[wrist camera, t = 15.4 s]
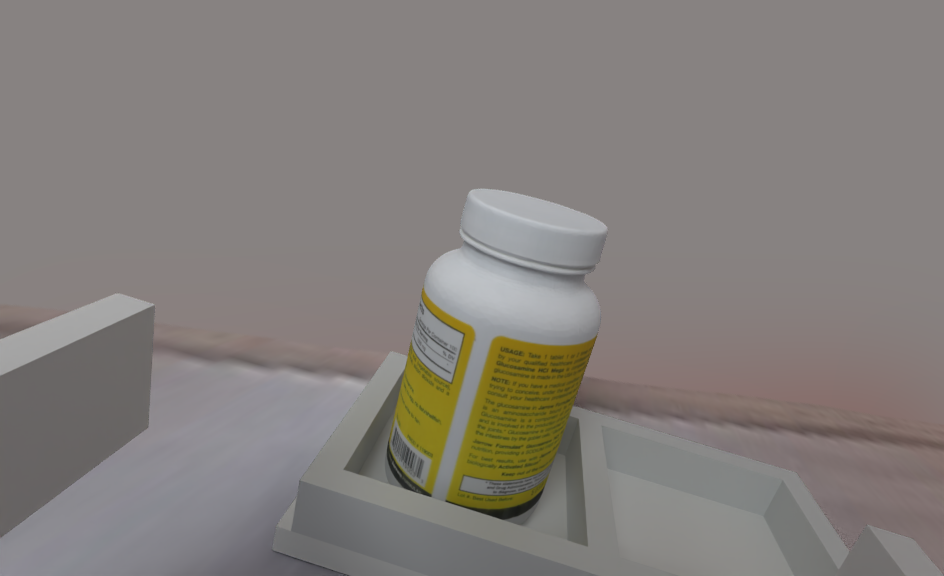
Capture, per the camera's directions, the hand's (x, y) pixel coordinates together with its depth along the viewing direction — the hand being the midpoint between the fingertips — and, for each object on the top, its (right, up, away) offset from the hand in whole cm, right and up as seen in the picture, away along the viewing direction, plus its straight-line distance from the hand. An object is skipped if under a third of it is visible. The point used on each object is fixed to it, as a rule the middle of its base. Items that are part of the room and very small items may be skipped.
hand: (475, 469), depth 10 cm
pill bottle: (-1, -4, +11) cm, 12 cm away
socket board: (+4, -6, +12) cm, 14 cm away
